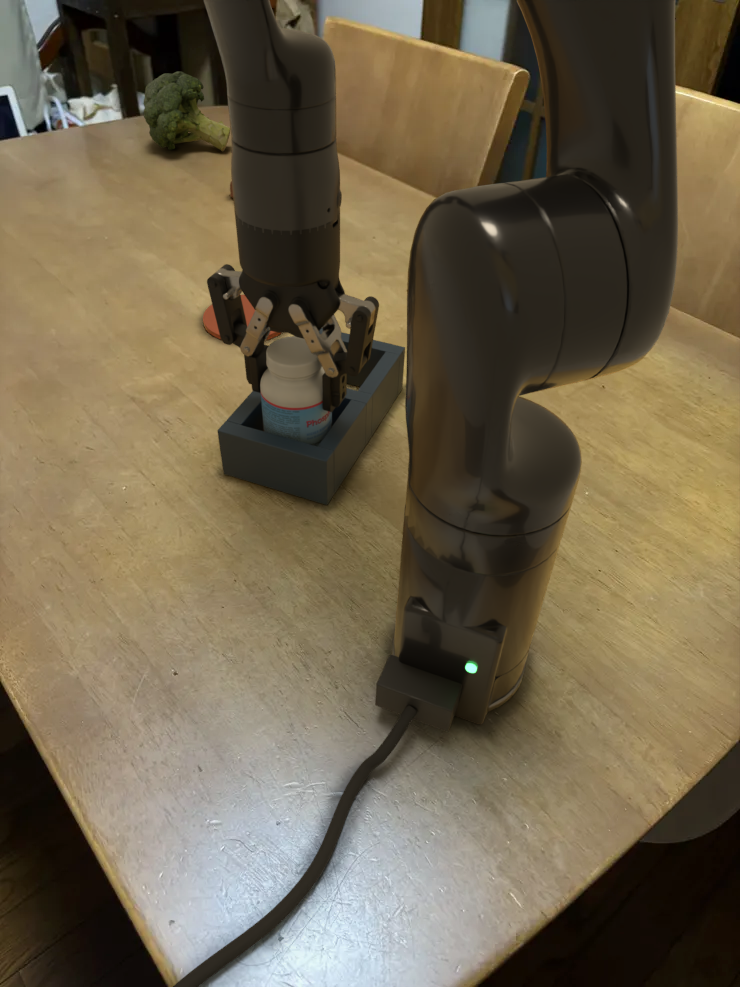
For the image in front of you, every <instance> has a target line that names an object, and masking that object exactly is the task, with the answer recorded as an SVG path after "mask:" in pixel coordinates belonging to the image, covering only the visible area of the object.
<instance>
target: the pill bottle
mask: <svg viewBox="0 0 740 987" xmlns="http://www.w3.org/2000/svg"><path fill="white" fill-rule="evenodd" d="M266 359H267V360H266V364H267V367H268V369H267V370H266V371H265V372H264V373H263V375H262V378H261V382H260V391H261V403H262V415H263V426H264V432H267V433H271V434H275V435H278V436H282V437H285V438H289V439H292V440H296V441H299V442H303V443H306V444H310V445H314V446H317V447H318V445H319V444H320V443H321V441H322V440H323V439H324V437H325V436H326V434H327V433H328V432H329V430H330V429H331V427H332V412H329V411H325V410H323V387H322V375H323V374H324V373H325V371H324V369H323V367H322V365H321V363H320V361H319V359H318V357H317V355H313V354H312V353H311V352H310V350H309V348H308V345H307V343H306V341H305V339H303V338H299V337H296V336H294V335H292V336H284V337H281V338H278V339H275V340H273V341H272V342H271V343H270V344H269V345H268V348H267V351H266Z"/></svg>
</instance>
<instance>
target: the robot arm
mask: <svg viewBox="0 0 740 987" xmlns="http://www.w3.org/2000/svg"><path fill="white" fill-rule="evenodd" d="M202 1H203V4H204V7H205V10H206V14H207V16H208V20H209V22H210V26H211V30H212V32H213V36H214V39H215V42H216V46H217V49H218V52H219V57H220V59H221V63H222V67H223V71H224V75H225V82H226V83H225V84H226V95H227V106H228V118H229V128H230V138H231V140H230V142H231V158H230V172H231V173H230V178H231V181H232V190H233V197H232V198H233V199H232V200H233V210H234V219H235V229H236V238H237V239H236V241H237V248H238V260H239V265H240V268H241V270H242V271H238V270H236V269H235V268H234V266H232V265H231V264H228V263H226V264H224V265H222V266H221V267H220V268H219V269H217V270H216V271H215V272H214V273H213V274H212V275H210V276H209V277H208V278H207V280H206V284H207V288H208V293H209V298H210V301H211V305H213V309H214V313H215V317H216V321H217V325H218V330H219V334H220V338H221V339H220V340H221V342H222V343H223V344H225V345H228V346H231V345H232V344H233V345H235V346H236V347H238V348H239V350H240V352H241V353H242V354H243V359H244V367H245V378H246V381H247V383H248V384H249V385H251V391H255V392H259V393H261V391H260V382H261V378H262V375H263V373H264V372H265V371H266V370H267V369H268V367H267V364H266V360H267V359H266V351H267V348H268V346H269V345H268V344H265V342H266V341H267V340H266V339H267V337H268V335H269V333H270V331H274V332H278V333H281V334H285V333H286V334H290V335H292V336H296V337H299V338H303V339H305V341H306V343H307V345H308V348H309V350H310V352H311V353H312V354H313V355H317V357H318V359H319V361H320V363H321V365H322V367H323V369H324V371H325V373H324V374H323V375H322V387H323V410H325V411H329V412H333V410H334V409H335V408H336V407H339V405H340V404H341V402H342V401H343V400H344V398H345V396H346V394H347V389H346V388H348V386H347V385H348V384H347V374H348V375H350V376H357V375H358V374H359V372H360V371H361V369H362V367H363V366H364V364H365V363H367V361H368V360H369V359H370V354H371V349H372V343H373V340H374V337H375V332H376V327H377V326H376V325H377V321H378V320H377V319H378V314H379V308H380V303H379V300H378V299H377V298H376V297H375V296H372V295H371V296H367V297H365V299H364V300H363V299H360V298H357V297H354V296H351V295H348V294H347V293H346V291H345V289H344V287H343V285H342V283H341V279H340V269H341V268H340V267H341V206H342V198H343V197H342V196H343V195H342V191H341V170H340V162H339V161H340V160H339V155H338V153H339V152H338V146H337V145H338V143H337V70H336V69H337V68H336V60H335V55H334V53H333V50H332V47H331V46H330V45H329V44H328V42H327V41H326V40H325V39H323V38H322V37H320V36H319V35H316V34H314V33H311V32H307V31H303V30H299V29H292V28H283V27H280V25H279V23H278V21H277V19H276V16H275V13H274V10H273V9H272V5H271V1H270V0H202ZM516 3H517V5H518V7H519V9H520V11H521V14H522V16H523V18H524V21H525V24H526V26H527V29H528V32H529V34H530V37H531V42H532V44H533V48H534V52H535V56H536V60H537V65H538V69H539V76H540V80H541V89H542V90H541V91H542V97H543V106H544V119H545V121H544V122H545V134H546V135H545V137H546V172H545V176H544V177H537V178H530V179H522V180H515V181H508V182H499V183H492V184H485V185H478V186H477V185H476V186H470V187H469V186H468V187H465V188H459V189H454V190H451V191H447V192H445V193H444V192H443V193H442V194H440V195H439V196H437V197H436V198H434V199H433V200H432V201H431V202H430V203H429V205H428V206H427V207H425V210H424V211H423V213H422V215H421V216H420V218H419V220H418V223H417V225H416V228H415V230H414V234H413V238H412V243H411V245H410V246H411V247H410V250H409V259H408V268H407V284H406V285H407V286H406V374H405V375H406V376H405V400H404V404H405V405H404V408H405V410H404V411H405V425H406V434H407V443H408V466H407V480H406V494H405V505H404V515H403V525H402V538H401V550H400V561H399V575H398V585H397V586H398V587H397V599H396V609H395V622H394V624H395V625H394V633H393V638H392V643H391V654H390V653H389V656H388V657H387V660H386V663H385V664H384V667H383V669H382V670H381V673H380V675H379V678H378V680H377V682H376V686H375V704H374V705H375V706H376V707H378V708H380V709H381V708H382V709H384V710H387V711H389V712H392V713H394V714H397V715H399V717H398V719H397V720H396V721H395V723H394V724H393V726H392V728H391V729H390V731H389V733H388V734H387V736H386V737H385V739H384V740H383V741H382V742H381V744H380V745H379V746H378V747H377V749H376V750H375V751H374V752H373V753H372V754H370V755H369V756H368V757H367V758H366V759H364V760H363V761H362V762H361V763H360V765H359V766H358V767H357V769H356V770H355V771H354V773H353V775H352V776H351V778H350V779H349V781H348V783H347V785H346V786H345V788H344V790H343V792H342V794H341V796H340V798H339V801H338V803H337V805H336V807H335V811H334V812H333V815H332V817H331V820H330V823H329V825H328V828H327V830H326V833H325V835H324V837H323V840H322V841H321V844H320V846H319V848H318V851H317V852H316V854H315V856H314V858H313V860H312V861H311V863H310V865H309V866H308V868H307V869H306V870H305V872H304V873H303V874H302V876H301V877H300V879H299V880H298V881H297V882H296V883H295V885H294V886H293V887H292V888H291V889H290V891H289V892H288V893H287V894H286V895H285V896H284V897H283V898H282V899H281V900H280V901H279V902H278V903H277V904H276V905H275V906H274V907H273V908H272V909H271V910H270V911H269V912H268V913H266V914H265V915H264V916H263V917H261V919H259V920H258V921H257V922H255V923H254V924H253V925H251V926H250V927H249V928H248V929H246V930H244V932H242V933H241V934H240V935H238V936H237V937H236V938H234V939H232V941H229V943H227V944H226V945H224V946H223V947H221V949H219V950H218V951H216V952H215V953H213V954H211V955H210V956H209V957H208V958H207V959H205V960H204V961H203V962H200V964H199V965H197V966H196V967H195V968H193V969H192V970H191V971H190V972H188V974H186V975H185V976H183V977H182V978H181V979H180V980H179V981H177V982H176V983H175V984H174V985H172V987H201V985H203V984H204V983H205V982H207V981H208V980H209V979H211V978H212V977H213V976H214V975H215V974H217V973H218V972H220V971H221V970H222V969H224V968H225V967H226V966H228V965H229V964H230V963H232V962H234V961H235V960H236V959H238V958H239V957H240V956H242V955H243V954H244V953H245V952H247V951H249V950H250V949H251V948H252V947H253V946H255V945H257V943H259V942H260V941H261V940H263V939H264V938H265V937H266V936H267V935H268V934H270V933H271V932H273V930H275V929H276V928H277V927H278V926H279V925H280V924H281V923H283V922H284V920H285V919H287V918H288V916H289V915H290V914H292V912H293V911H294V910H295V909H296V908H297V907H298V905H300V904H301V902H302V901H303V900H304V899H305V897H306V896H307V895H308V894H309V893H310V891H311V890H312V889H313V887H315V885H316V883H317V882H318V880H319V878H320V877H321V875H322V874H323V872H324V870H326V867H327V865H328V863H329V861H330V860H331V857H332V854H333V853H334V850H335V848H336V846H337V844H338V841H339V838H340V836H341V833H342V830H343V827H344V825H345V823H346V819H347V817H348V814H349V812H350V810H351V807H352V805H353V803H354V801H355V799H356V797H357V795H358V793H359V792H360V789H361V788H362V787H363V785H364V783H365V782H366V780H368V777H369V776H370V775H371V773H373V771H374V770H375V769H376V768H378V767H380V766H381V764H383V763H385V761H386V760H387V758H389V756H390V755H391V754H392V752H393V751H394V750H395V748H396V747H397V746H398V744H399V743H400V741H401V739H402V738H403V736H404V735H405V733H406V732H407V729H409V727H410V725H411V724H412V722H413V721H417V722H418V723H421V724H424V725H428V726H430V727H433V728H435V729H438V730H441V731H443V732H446V733H449V732H450V729H451V726H452V723H453V721H454V718H455V717H457V718H460V719H463V720H465V721H467V722H469V723H474V724H476V725H482V724H483V723H484V722H485V719H486V716H487V714H488V712H491V711H493V710H496V709H498V708H499V707H501V706H503V705H504V704H505V703H507V702H508V701H509V700H511V699H512V697H513V696H514V695H515V694H516V692H517V691H518V689H519V688H520V686H521V684H522V680H523V678H524V675H525V672H526V671H525V670H526V664H527V659H528V655H529V653H530V649H531V646H532V641H533V637H534V634H535V631H536V628H537V624H538V620H539V618H540V613H541V611H542V607H543V603H544V599H545V596H546V593H547V589H548V586H549V583H550V579H551V576H552V572H553V569H554V566H555V562H556V559H557V555H558V552H559V548H560V545H561V542H562V538H563V536H564V533H565V529H566V525H567V522H568V518H569V515H570V511H571V508H572V505H573V501H574V499H575V495H576V490H577V488H578V484H579V481H580V476H581V472H582V465H583V464H582V463H583V460H582V459H583V458H582V450H581V446H580V443H579V441H578V439H577V437H576V435H575V434H574V432H573V430H572V429H571V428H570V427H569V426H568V425H567V423H566V422H565V421H564V420H563V419H562V418H560V417H559V416H558V415H556V414H555V413H554V412H553V411H552V410H550V409H548V408H547V407H545V406H543V405H541V404H539V403H537V402H535V401H534V400H531V399H528V398H526V397H523V396H524V395H528V394H533V393H537V392H543V391H546V390H550V389H554V388H558V387H563V386H567V385H572V384H577V383H579V382H583V381H584V382H585V381H588V380H595V379H598V378H601V377H605V376H609V375H612V374H615V373H619V372H621V371H624V370H626V369H628V368H630V367H633V366H635V365H636V364H638V363H639V362H640V361H642V360H643V359H644V358H645V357H646V356H647V355H648V354H649V352H651V350H652V349H653V348H654V346H655V345H656V343H657V342H658V340H659V338H660V336H661V334H662V331H663V329H664V328H665V325H666V323H667V321H668V316H669V314H670V309H671V304H672V300H673V295H674V290H675V285H676V284H675V283H676V275H677V265H678V246H679V200H678V199H679V195H678V194H679V193H678V191H679V189H678V188H679V187H678V186H679V185H678V184H679V183H678V143H677V141H678V139H677V138H678V136H677V96H676V94H677V92H676V90H677V89H676V87H677V86H676V0H516ZM242 294H243V295H245V296H246V298H247V299H248V301H249V302H250V303H251V305H252V306H253V308H254V309H255V312H254V314H253V316H252V318H251V320H250V323H249V325H248V327H247V323H246V318H245V314H244V309H243V304H242V300H241V295H242ZM337 311H340V312H341V313H342V314H343V315H344V322H345V327H346V329H350V330H349V334H350V336H349V342H348V349H346V347H345V345H344V343H343V341H342V339H341V332H342V329H341V328H342V327H341V326H340V324H339V322H338V319H337V318H336V313H337ZM321 328H323V332H322V334H321V335H320V333H319V331H320V329H321Z"/></svg>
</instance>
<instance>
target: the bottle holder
mask: <svg viewBox="0 0 740 987" xmlns="http://www.w3.org/2000/svg"><path fill="white" fill-rule="evenodd" d="M322 332H323V328H321V329H320V331H319V333H320V335H321V334H322ZM349 336H350V333H346V332H342V331H341V339H342V341H343V343H344V345H345V347H346V349H348V342H349ZM405 355H406V347H405V346H402V345H397V344H393V343H389V342H385V341H380V340H376V339H373V343H372V349H371V354H370V359H369V360H368V361H367V363H365V364H364V366H363V367H362V369H361V371H360V372H359V374H358V375H357V376H350V375H348V374H347V384H346V385H350V386H355V387H357V388H358V390H356V389H352V388H348V387H347V388H346V389H347V394H346V396H345V398H344V400H343V401H342V402H341V404H340V405H339V407H336V408H335V409H334V410H333V412H332V427H331V429H330V430H329V432H328V433H327V434H326V436H325V437H324V439H323V440H322V441H321V443H320V444H319V445H318V447H317V446H314V445H310V444H306V443H303V442H299V441H296V440H292V439H289V438H285V437H282V436H278V435H275V434H271V433H267V432H264V426H263V415H262V403H261V393H259V392H255V391H253V390H251V392H250V393H249V394H248V395H247V397H246V398H245V399H243V401H242V402H241V403H240V404H239V406H238V407H237V408H236V409H235V410H234V411H233V412H232V413H231V414H230V416H229V417H228V418H227V419H226V420H225V421H224V422H223V424H221V425H220V427H219V428H218V429H217V436H218V438H217V439H218V446H219V453H220V460H221V465H222V473H223V475H226V476H230V477H233V478H235V479H240V480H242V481H246V482H248V483H249V482H250V483H252V484H256V485H260V486H262V487H266V488H269V489H272V490H276V491H278V492H282V493H286V494H289V495H292V496H296V497H299V498H302V499H305V500H309V501H312V502H315V503H318V504H321V505H325V506H328V505H329V503H330V501H331V500H332V498H333V497H334V495H335V494H336V492H337V491H338V489H339V488H340V486H341V484H342V483H343V482H344V481H345V479H346V477H347V475H348V474H349V472H350V470H352V468H353V467H354V464H355V463H356V462H357V460H358V458H359V457H360V455H361V454H362V452H363V450H364V449H365V447H366V446H367V444H368V443H369V442H370V440H371V438H372V437H373V435H374V433H375V432H376V431H377V429H378V427H379V425H380V424H381V423H382V421H383V420H384V418H385V416H386V415H387V413H388V412H389V410H390V409H391V407H392V406H393V405H394V403H395V401H396V400H397V398H398V396H399V395H400V394H401V392H402V390H403V387H404V386H403V385H404V384H403V383H404V372H405V371H404V370H405V368H404V367H405Z"/></svg>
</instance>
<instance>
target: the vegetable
mask: <svg viewBox="0 0 740 987" xmlns="http://www.w3.org/2000/svg"><path fill="white" fill-rule="evenodd" d="M203 89H204V85H203V83H202V81H201V80H200V79H199V78H197V77H194V76H192V75H190V74H188V73H185V72H184V71H178V70H177V71H175V72H173V73H169V72H168V73H163V74H161V75H159V76H158V77H157V78H154V80H152V81H151V82H148V84H146V86H145V90H144V99H143V106H144V109H143V118H144V120H145V123H146V124H147V125H148V127H149V132H148V133H149V137H150V138H151V140H152V141H153V142H154V143H155V144H157V146H158V147H159V148H167V150H169V151H170V150H175V149H176V146H175V145H176V144H182V143H190V142H196V141H204V142H206V143H209V144H211V145H212V146H213V147H214V148H216V149H218V150H220V151H221V152H224V151H225V150H226V147H227V146H228V142H229V139H230V136H231V130H230V126H227V125H225V124H224V122H223V121H222V120H221V121H218V122H217V121H215V120H212V119H210V118H209V117H208V116H206V115H205V114H204V113H202V111H201V110H200V108H199V107H198V102H199V101H200V103H202V102H203V101H205V95H204V93H203V92H202V90H203Z"/></svg>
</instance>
